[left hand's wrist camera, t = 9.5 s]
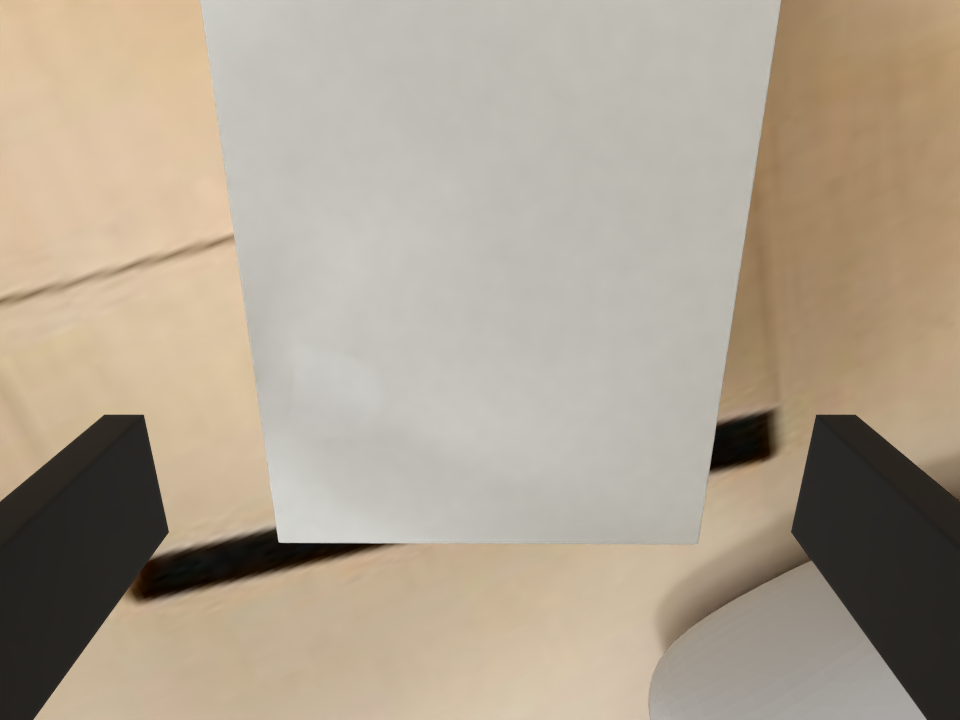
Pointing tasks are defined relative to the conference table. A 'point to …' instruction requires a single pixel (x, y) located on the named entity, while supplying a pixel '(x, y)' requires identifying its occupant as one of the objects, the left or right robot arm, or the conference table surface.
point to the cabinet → (489, 257)
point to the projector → (778, 661)
